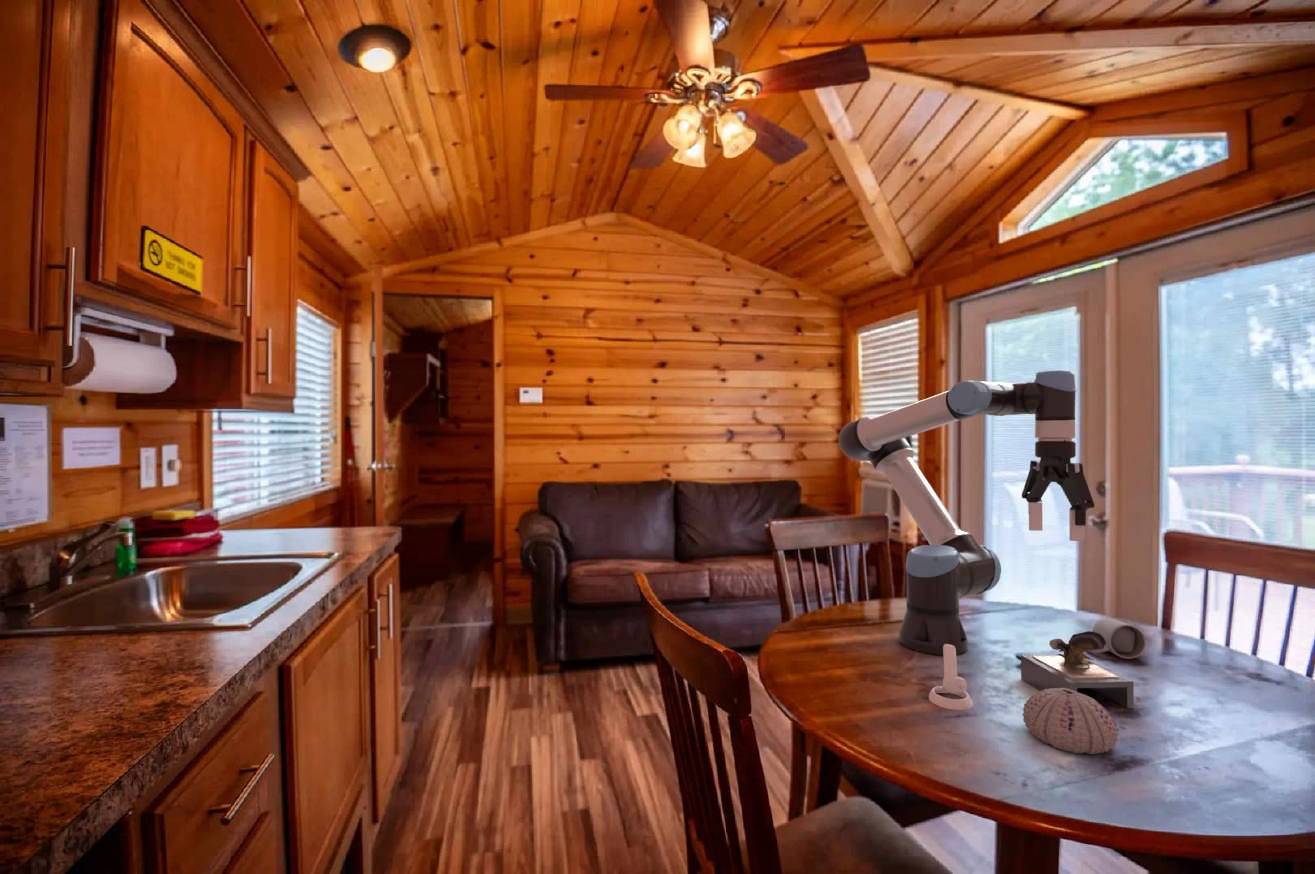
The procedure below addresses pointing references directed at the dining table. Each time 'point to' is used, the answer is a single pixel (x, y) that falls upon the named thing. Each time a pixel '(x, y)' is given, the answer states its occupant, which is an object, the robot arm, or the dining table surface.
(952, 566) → the robot arm
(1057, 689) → the sea urchin shell
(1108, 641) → the ceramic mug
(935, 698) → the vr controller
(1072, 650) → the eagle figurine
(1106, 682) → the dark boxy piece
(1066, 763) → the dining table surface
